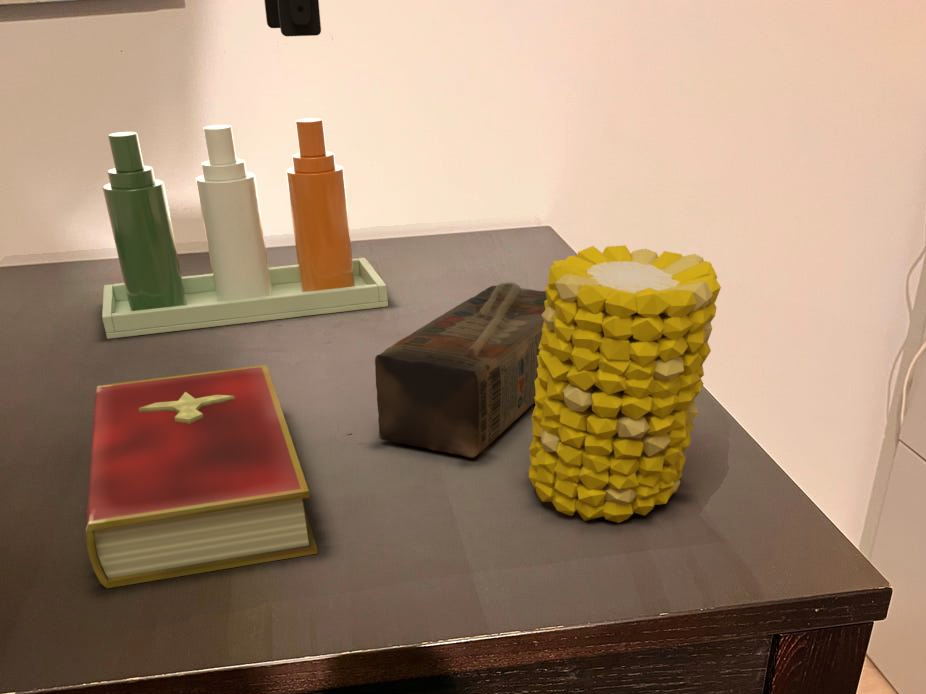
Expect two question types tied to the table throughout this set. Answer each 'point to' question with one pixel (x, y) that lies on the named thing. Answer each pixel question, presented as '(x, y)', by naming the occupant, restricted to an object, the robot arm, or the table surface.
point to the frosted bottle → (232, 220)
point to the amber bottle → (319, 212)
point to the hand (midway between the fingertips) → (293, 31)
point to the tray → (241, 303)
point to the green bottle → (142, 229)
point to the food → (619, 378)
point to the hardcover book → (192, 477)
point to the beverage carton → (463, 373)
